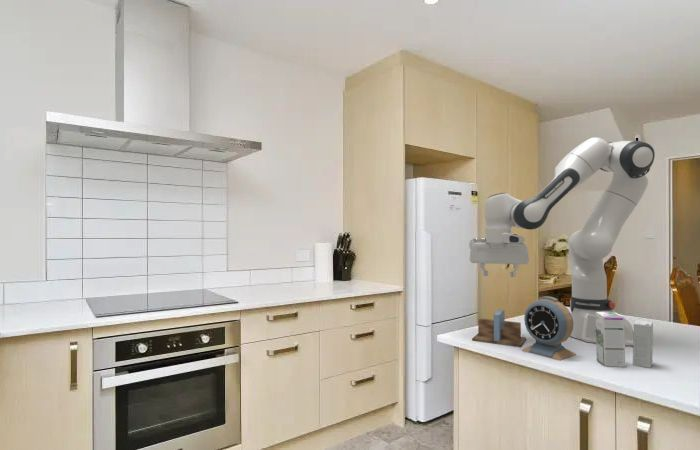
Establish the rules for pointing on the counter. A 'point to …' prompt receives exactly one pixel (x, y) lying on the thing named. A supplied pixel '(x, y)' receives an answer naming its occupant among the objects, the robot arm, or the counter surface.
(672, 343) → the counter surface
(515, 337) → the walnut joint base
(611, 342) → the syrup box
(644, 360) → the skincare box
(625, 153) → the robot arm
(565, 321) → the alarm clock
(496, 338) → the blue slotted plate
